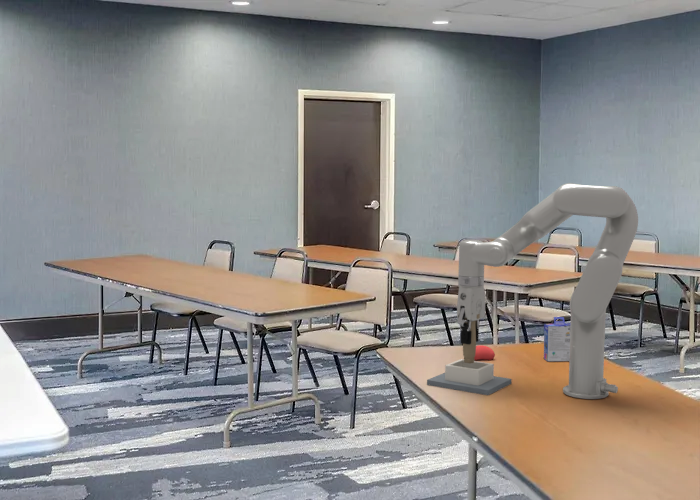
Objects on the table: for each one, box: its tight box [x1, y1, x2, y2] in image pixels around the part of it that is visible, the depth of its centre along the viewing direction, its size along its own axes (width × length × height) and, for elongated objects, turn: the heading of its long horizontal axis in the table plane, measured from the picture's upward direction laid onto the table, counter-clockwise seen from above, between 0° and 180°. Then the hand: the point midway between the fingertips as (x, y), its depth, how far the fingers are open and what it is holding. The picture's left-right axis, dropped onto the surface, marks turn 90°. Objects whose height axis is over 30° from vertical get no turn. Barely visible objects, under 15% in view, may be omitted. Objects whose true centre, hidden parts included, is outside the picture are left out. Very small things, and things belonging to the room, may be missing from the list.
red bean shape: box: [474, 344, 496, 361], centre depth 278 cm, size 5×9×6 cm
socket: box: [426, 358, 513, 396], centre depth 245 cm, size 20×16×6 cm
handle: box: [462, 314, 480, 363], centre depth 244 cm, size 5×6×15 cm
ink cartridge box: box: [543, 316, 571, 362], centre depth 277 cm, size 10×6×14 cm, turn 94°
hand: (469, 341), depth 244 cm, fingers closed on handle, 3 cm apart
